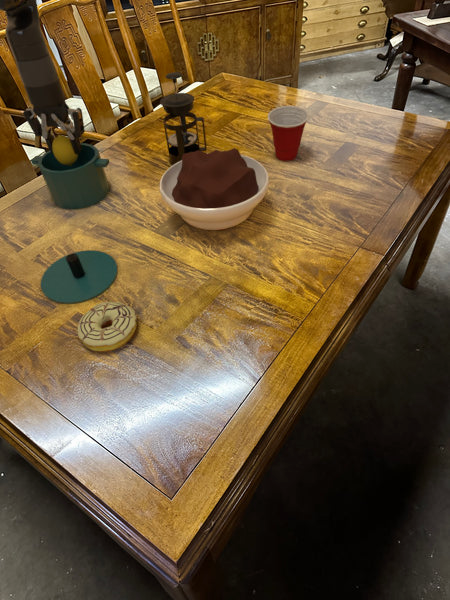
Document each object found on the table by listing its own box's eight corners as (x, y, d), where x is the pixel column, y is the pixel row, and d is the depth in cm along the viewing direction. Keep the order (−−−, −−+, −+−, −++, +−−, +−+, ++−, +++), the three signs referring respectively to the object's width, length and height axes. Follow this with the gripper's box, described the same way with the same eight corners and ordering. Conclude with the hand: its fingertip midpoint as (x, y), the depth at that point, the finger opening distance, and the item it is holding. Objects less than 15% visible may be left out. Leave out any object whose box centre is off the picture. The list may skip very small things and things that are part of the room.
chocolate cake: (227, 260, 89) (222, 200, 78) (144, 223, 100) (130, 165, 89) (288, 204, 102) (291, 145, 91) (209, 176, 113) (203, 120, 102)
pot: (106, 212, 105) (94, 174, 97) (34, 207, 108) (16, 170, 100) (126, 180, 114) (117, 144, 107) (59, 177, 118) (46, 141, 110)
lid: (101, 309, 82) (92, 288, 77) (28, 301, 84) (16, 280, 80) (128, 257, 92) (122, 235, 88) (63, 251, 95) (54, 230, 91)
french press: (164, 169, 118) (149, 82, 101) (169, 152, 124) (155, 68, 107) (206, 167, 117) (197, 79, 100) (208, 151, 123) (200, 66, 106)
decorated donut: (140, 308, 81) (136, 294, 78) (137, 352, 74) (132, 339, 71) (87, 313, 81) (81, 300, 78) (78, 358, 74) (71, 345, 71)
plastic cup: (264, 165, 115) (265, 122, 107) (269, 147, 123) (269, 105, 114) (304, 167, 114) (308, 123, 105) (306, 148, 121) (310, 105, 112)
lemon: (58, 163, 106) (46, 133, 100) (80, 158, 107) (69, 127, 102) (60, 173, 103) (48, 142, 97) (83, 168, 104) (72, 136, 98)
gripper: (78, 72, 92) (99, 145, 104) (19, 72, 94) (47, 144, 107) (62, 85, 87) (87, 161, 99) (1, 85, 89) (32, 158, 102)
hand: (66, 151), depth 103 cm, fingers closed on lemon, 5 cm apart
